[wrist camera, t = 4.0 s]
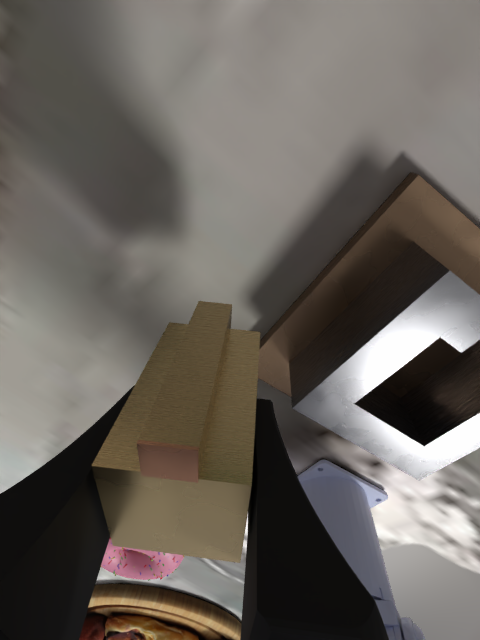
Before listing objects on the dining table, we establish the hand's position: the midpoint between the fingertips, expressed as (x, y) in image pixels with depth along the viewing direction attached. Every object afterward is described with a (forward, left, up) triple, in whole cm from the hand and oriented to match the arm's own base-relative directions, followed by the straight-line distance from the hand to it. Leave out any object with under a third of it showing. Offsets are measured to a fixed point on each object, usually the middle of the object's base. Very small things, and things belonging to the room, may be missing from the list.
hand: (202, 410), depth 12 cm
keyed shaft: (0, 0, -3) cm, 3 cm away
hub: (+4, -11, -9) cm, 15 cm away
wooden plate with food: (-60, -24, -10) cm, 65 cm away
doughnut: (-31, -8, -10) cm, 33 cm away
